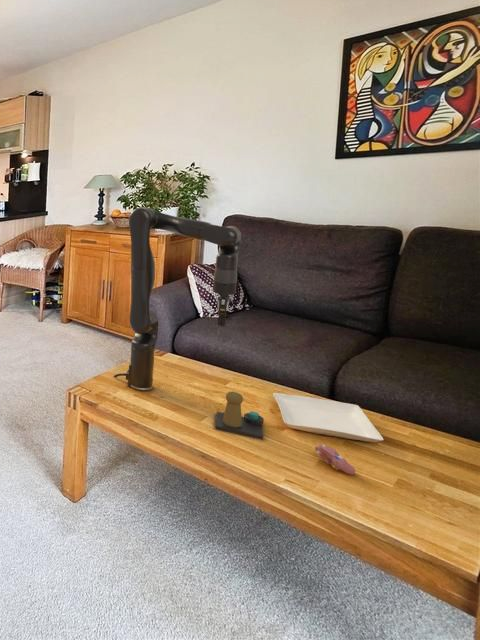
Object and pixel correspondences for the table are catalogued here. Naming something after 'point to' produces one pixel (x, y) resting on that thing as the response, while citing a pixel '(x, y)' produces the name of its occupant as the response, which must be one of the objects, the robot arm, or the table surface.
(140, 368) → the robot arm
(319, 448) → the pink tapered lump
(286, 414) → the square plate
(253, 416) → the button
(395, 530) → the table surface
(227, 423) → the cork
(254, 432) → the scale
